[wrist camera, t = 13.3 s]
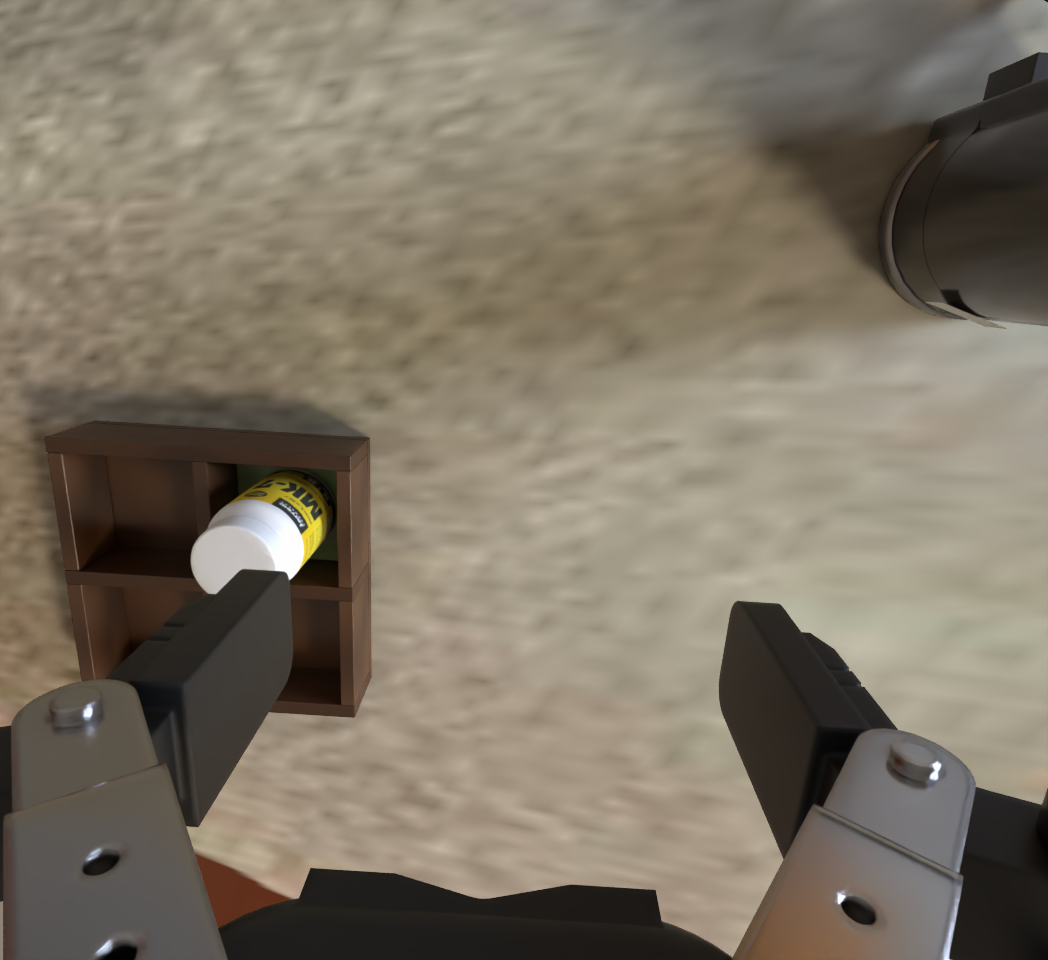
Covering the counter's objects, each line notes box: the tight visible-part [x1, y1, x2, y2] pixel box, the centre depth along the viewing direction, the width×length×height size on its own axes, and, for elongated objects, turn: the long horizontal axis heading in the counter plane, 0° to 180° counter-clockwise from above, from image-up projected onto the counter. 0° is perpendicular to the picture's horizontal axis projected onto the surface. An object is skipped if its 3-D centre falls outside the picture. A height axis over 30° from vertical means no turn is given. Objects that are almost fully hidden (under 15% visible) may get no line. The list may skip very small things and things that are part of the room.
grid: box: [45, 421, 371, 718], centre depth 38 cm, size 16×16×4 cm
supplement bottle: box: [191, 469, 337, 594], centre depth 34 cm, size 5×5×8 cm
